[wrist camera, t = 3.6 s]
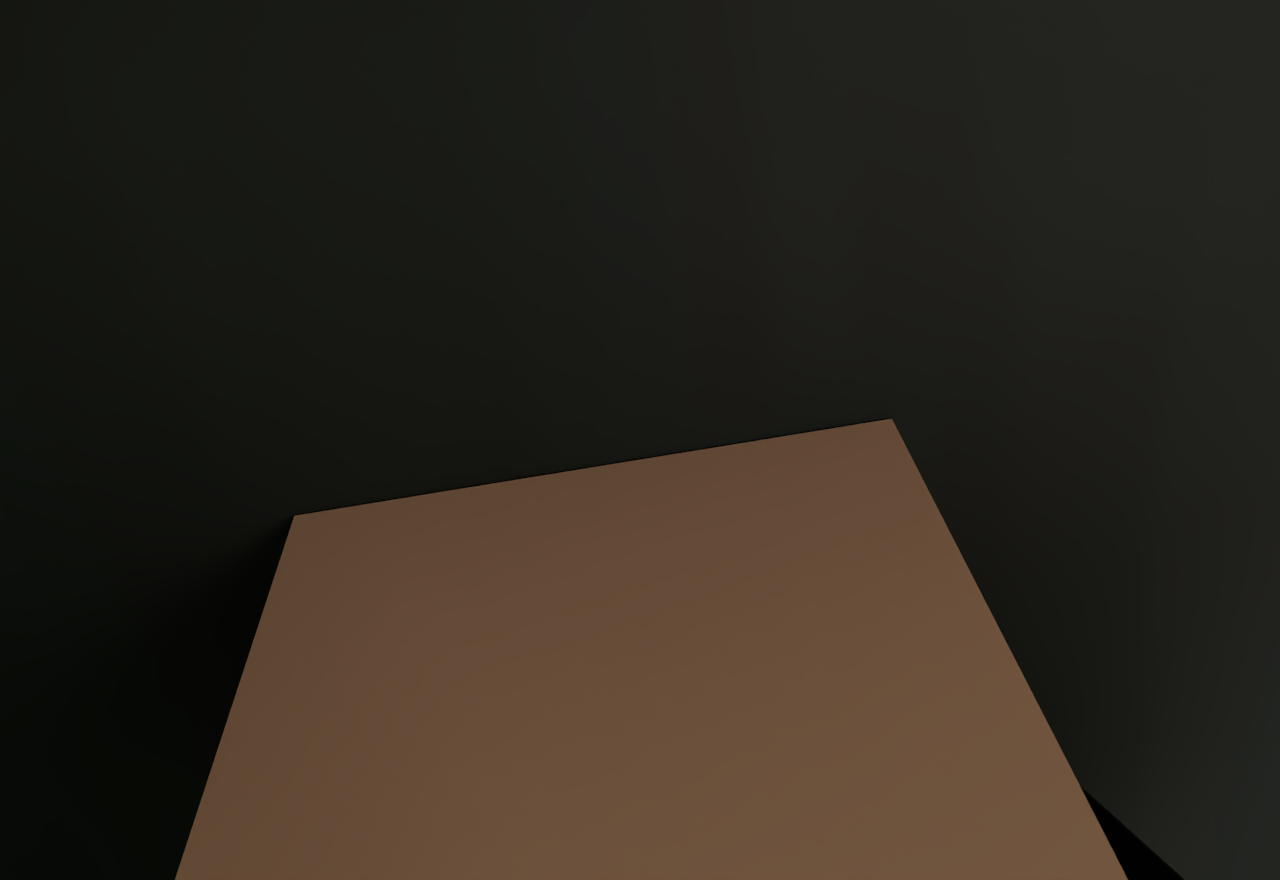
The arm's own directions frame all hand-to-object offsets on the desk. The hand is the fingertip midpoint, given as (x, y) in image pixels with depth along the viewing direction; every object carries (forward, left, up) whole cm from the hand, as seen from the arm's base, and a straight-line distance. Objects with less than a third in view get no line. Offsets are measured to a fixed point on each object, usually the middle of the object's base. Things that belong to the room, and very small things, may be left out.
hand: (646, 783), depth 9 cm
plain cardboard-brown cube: (0, 0, -1) cm, 1 cm away
